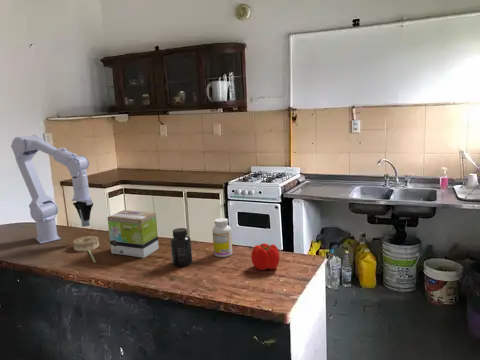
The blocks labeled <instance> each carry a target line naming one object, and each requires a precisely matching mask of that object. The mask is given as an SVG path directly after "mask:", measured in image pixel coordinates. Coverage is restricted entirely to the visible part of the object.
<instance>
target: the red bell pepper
mask: <svg viewBox="0 0 480 360" xmlns="http://www.w3.org/2000/svg"><path fill="white" fill-rule="evenodd" d="M280 257H281V255H280V251H279V249H278V247H277V246H276V245H275V244H268V243H259V244H258V245H257V244H256V245H255V246H254V247H253V249H252V252H251V262H252V265H253V267H254V268H256V269H257V270H260V271H265V270H274V269H276V268H277V267H278V266H279V263H280V260H281V259H280Z"/></svg>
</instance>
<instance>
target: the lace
mask: <svg viewBox="0 0 480 360" xmlns="http://www.w3.org/2000/svg"><path fill="white" fill-rule="evenodd" d="M87 252H88V253H89V256H90V258H91V260H92V262H93V263H96V262H97V261H96V259H95V257H94V254H92V250H88V251H87Z"/></svg>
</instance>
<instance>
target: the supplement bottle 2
mask: <svg viewBox="0 0 480 360" xmlns="http://www.w3.org/2000/svg"><path fill="white" fill-rule="evenodd" d="M228 224H229V219H228V218H226V217H225V218H224V217H220V218H216V219H214V226H213V227H212V244H213V253H214V254H213V255H214V256H215V257H217V258H218V257H219V258H225V257H230V256H231V255H232V254H233V238H232V237H233V236H232V228H231V226H230V225H228Z"/></svg>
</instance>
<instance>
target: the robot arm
mask: <svg viewBox="0 0 480 360" xmlns="http://www.w3.org/2000/svg"><path fill="white" fill-rule="evenodd" d="M10 148H11V150H12V152H13V154H14V157H15V161H16V164H17V166H18V170H19V171H20V174H21V176H22V178H23V180H24V183H25V186H26V188H27V190H28V193H29V195H30V197H31V199H32V200H31V202H30V203H29V205H28V207H29V214H30V216H31V219H32V220H33V221H34V222H35V226H36V234H37V237H35V240H36V241H37V242H38V244H42V245H43V244H47V243H49V242H50V243H51V242H54V241H59V240H62V239H61V237H60V236H59V235H58V229H57V222H56V217H57V214H58V213H59V207H58V205H57V203H56V202H55V201H54V199H53V198H52V197H51V196H49V195H48V194H46V192H45V189H44V187H43V184H42V182H41V179H40V177H39V175H38V173H37V172H38V171H37V170H36V167H35V166H34V165H35V164H34V163H33V158H34V157H35V155H36V154H38V153H37V152H39V151H40V152H42V153H45V154H47V155H49V156H52V157H53V159H54V161H55V162H57V163H59V164H61V165H63V166H65V167H67V168H66V169H67V170H68V172H69V173H70V176H71V180H72V189H73V195H72V196H73V197H72V198H71V202H73V203H72V205H73V207H74V208H75V209H76V212H77V214H78V216H79V219H80V220H81V215H80V210H81V213H82V217H83V220H84V221H87V220H89V221H90V219H91V212H92V208H93V206H94V202H93V199H92V198H91V196H90V187H89V178H88V171H87V169H88V168H89V166H90V162H89V159H88V158H87V157H86V156H85V155H77V153H74V152H72V151H69V150H68V149H67V148H66V147H59V148H57V147H55V146H53V145H52V144H50V143H49V142H47V141H45V140H43V138H42V137H40V136H39V135H36V134H33V135H27V136H15V138H13V140H12V142H11V145H10Z"/></svg>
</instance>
